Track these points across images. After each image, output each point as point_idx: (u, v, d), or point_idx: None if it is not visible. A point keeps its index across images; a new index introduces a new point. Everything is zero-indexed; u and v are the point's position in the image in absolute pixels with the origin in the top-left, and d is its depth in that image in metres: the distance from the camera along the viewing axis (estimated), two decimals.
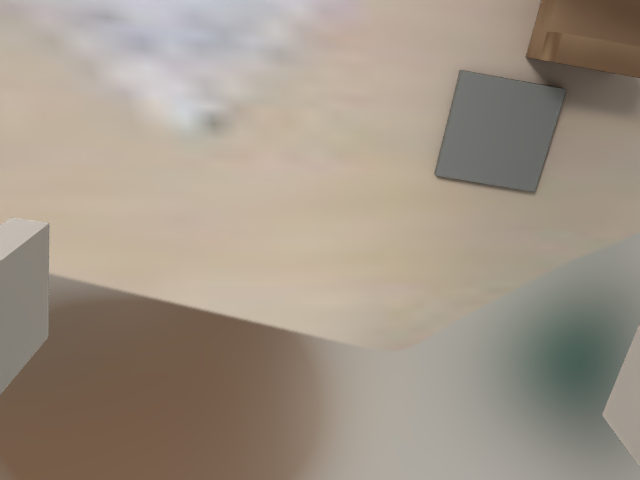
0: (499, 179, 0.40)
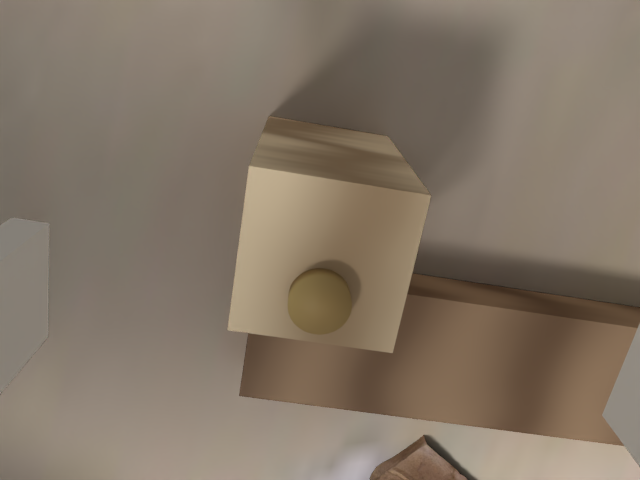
0: None
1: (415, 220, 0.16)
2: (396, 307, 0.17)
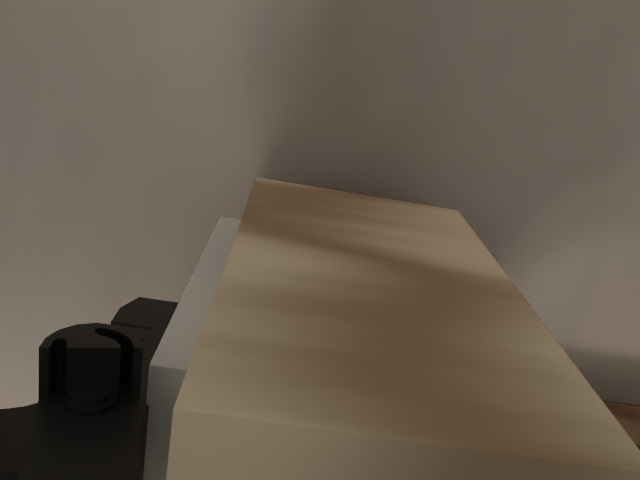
0: None
1: None
2: None
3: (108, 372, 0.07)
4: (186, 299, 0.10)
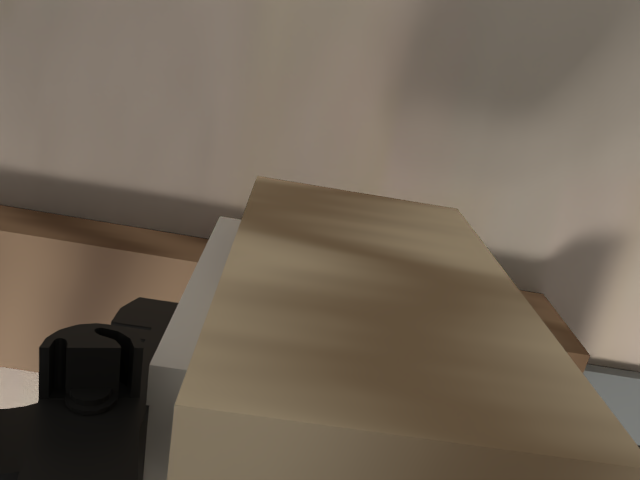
0: None
1: None
2: None
3: (108, 372, 0.07)
4: (186, 299, 0.10)
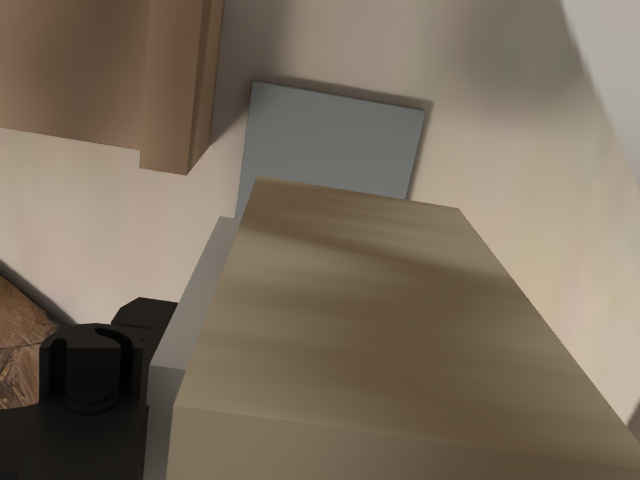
0: (400, 173, 0.24)
1: None
2: None
3: (108, 372, 0.07)
4: (186, 299, 0.10)
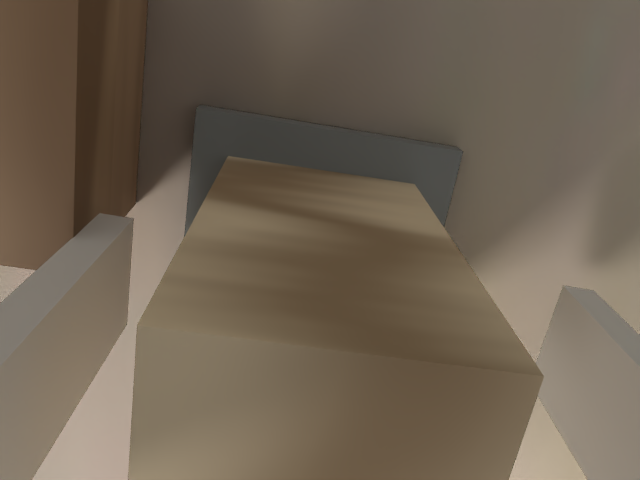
0: None
1: (506, 424, 0.08)
2: None
3: None
4: (5, 305, 0.09)
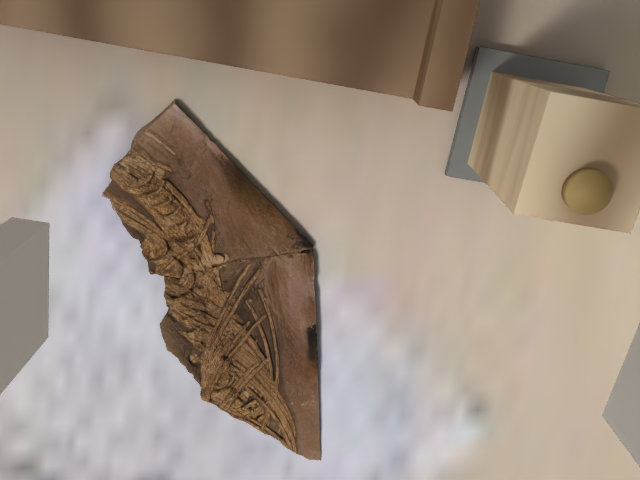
0: None
1: None
2: (638, 198, 0.24)
3: None
4: None
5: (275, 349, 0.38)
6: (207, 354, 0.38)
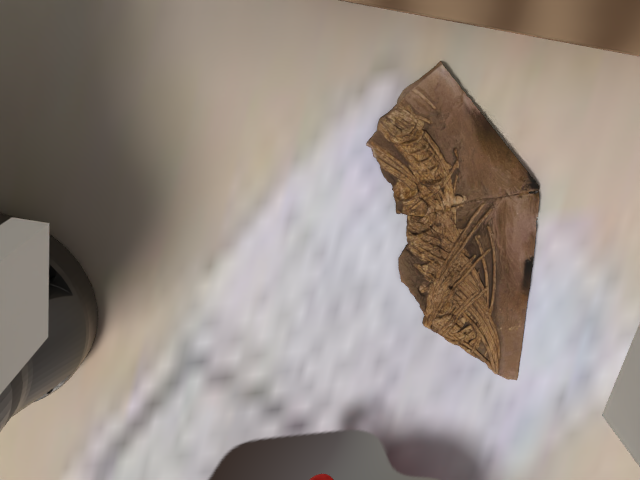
0: None
1: None
2: None
3: None
4: None
5: (494, 279, 0.44)
6: (436, 284, 0.44)
